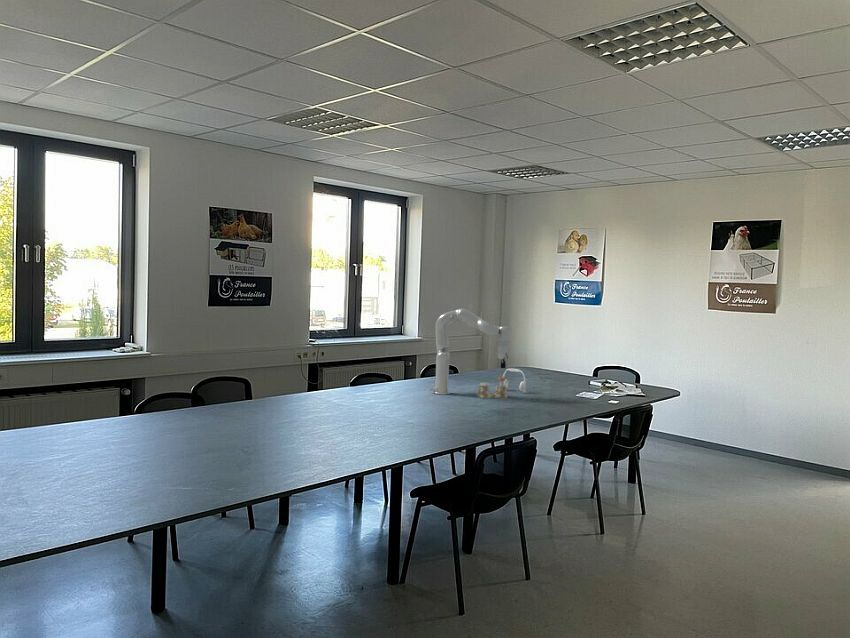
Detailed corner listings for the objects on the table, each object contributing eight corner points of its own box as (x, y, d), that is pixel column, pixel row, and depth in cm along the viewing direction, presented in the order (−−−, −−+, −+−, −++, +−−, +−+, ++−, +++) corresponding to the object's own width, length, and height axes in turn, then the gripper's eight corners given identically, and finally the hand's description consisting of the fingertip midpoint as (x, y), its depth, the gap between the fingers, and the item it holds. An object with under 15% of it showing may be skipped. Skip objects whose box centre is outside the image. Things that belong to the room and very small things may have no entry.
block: (482, 398, 459) (482, 387, 458) (477, 395, 468) (477, 385, 468) (507, 397, 464) (508, 387, 464) (502, 395, 474) (502, 385, 473)
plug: (481, 394, 461) (482, 383, 460) (478, 393, 466) (479, 382, 465) (488, 394, 462) (488, 383, 462) (485, 393, 467) (486, 382, 467)
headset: (499, 390, 496) (501, 367, 495) (504, 389, 502) (505, 367, 501) (522, 393, 484) (523, 370, 483) (527, 392, 490) (528, 369, 489)
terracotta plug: (499, 388, 465) (500, 378, 464) (496, 387, 470) (497, 377, 469) (506, 388, 466) (506, 378, 466) (503, 387, 471) (503, 377, 471)
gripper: (494, 342, 472) (494, 366, 473) (503, 344, 458) (502, 369, 459) (504, 342, 474) (503, 366, 475) (512, 344, 460) (511, 369, 461)
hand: (503, 368), depth 467 cm, fingers closed
